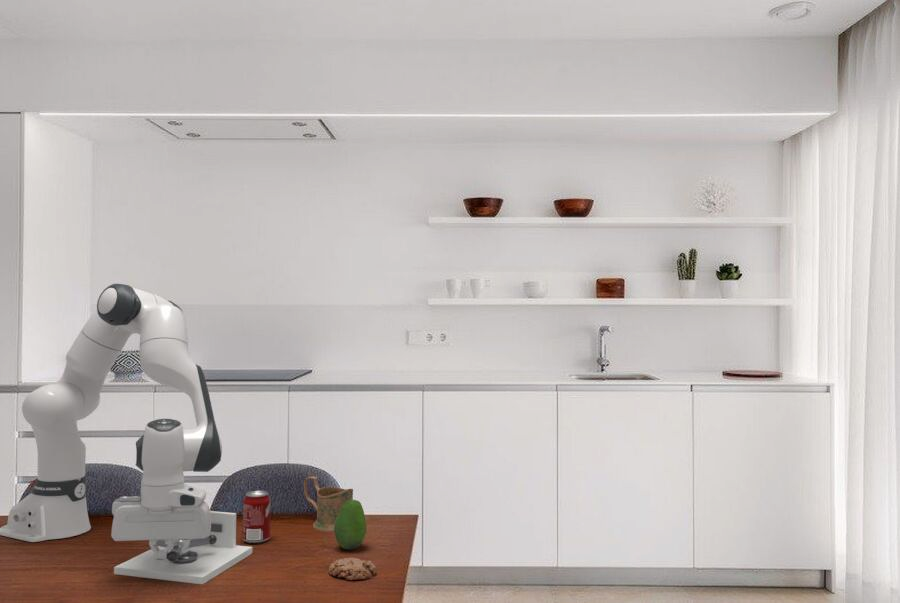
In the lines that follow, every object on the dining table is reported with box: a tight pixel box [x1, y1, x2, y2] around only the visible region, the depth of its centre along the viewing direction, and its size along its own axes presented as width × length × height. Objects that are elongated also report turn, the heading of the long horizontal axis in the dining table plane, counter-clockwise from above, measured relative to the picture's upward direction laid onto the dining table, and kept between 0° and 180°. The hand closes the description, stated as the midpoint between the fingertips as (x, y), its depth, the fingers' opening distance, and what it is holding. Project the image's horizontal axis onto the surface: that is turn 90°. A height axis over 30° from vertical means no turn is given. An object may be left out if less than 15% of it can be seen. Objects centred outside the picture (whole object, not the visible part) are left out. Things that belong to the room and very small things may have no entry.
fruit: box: [333, 499, 367, 551], centre depth 180 cm, size 8×8×12 cm
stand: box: [113, 510, 254, 585], centre depth 168 cm, size 22×21×10 cm
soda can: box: [241, 490, 271, 545], centre depth 186 cm, size 7×7×12 cm
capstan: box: [156, 535, 217, 563], centre depth 164 cm, size 15×13×5 cm
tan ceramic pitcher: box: [303, 476, 354, 533], centre depth 201 cm, size 12×18×12 cm, turn 54°
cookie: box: [328, 557, 377, 581], centre depth 163 cm, size 10×11×3 cm
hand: (161, 559), depth 159 cm, fingers closed
